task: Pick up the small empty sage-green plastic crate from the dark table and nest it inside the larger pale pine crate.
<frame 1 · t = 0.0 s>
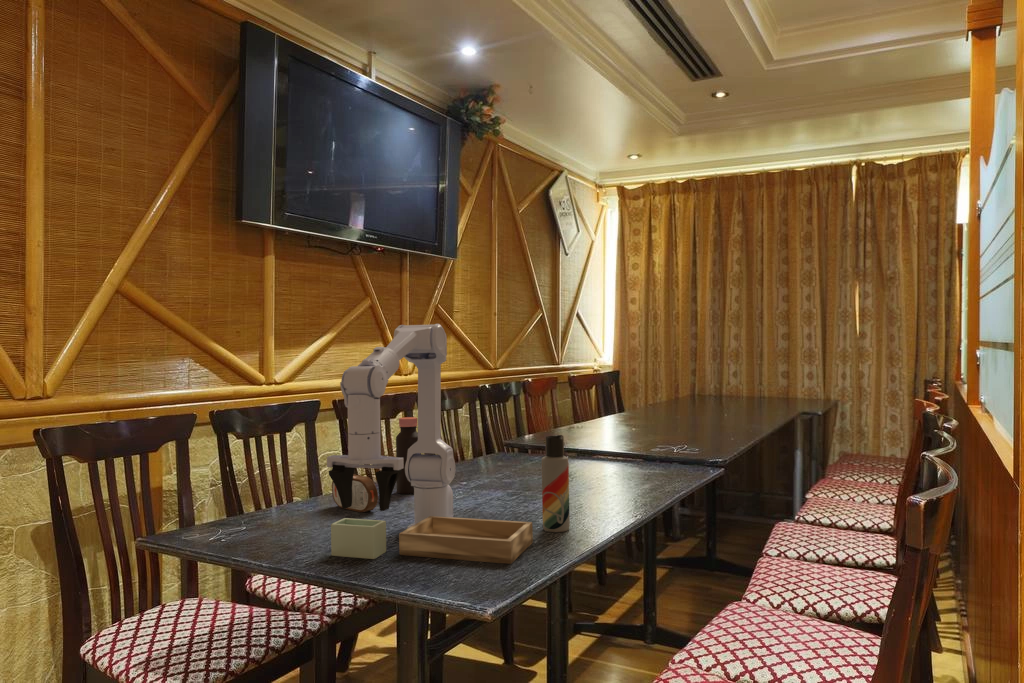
hand: (365, 508, 125), 10 cm above the table, tool pointing down, fingers open, 7 cm apart
small crate: (359, 554, 132), on the table
lotion bottle: (556, 530, 147), on the table
vinegar: (409, 492, 188), on the table
pine crate: (467, 548, 134), on the table
tin: (354, 510, 168), on the table
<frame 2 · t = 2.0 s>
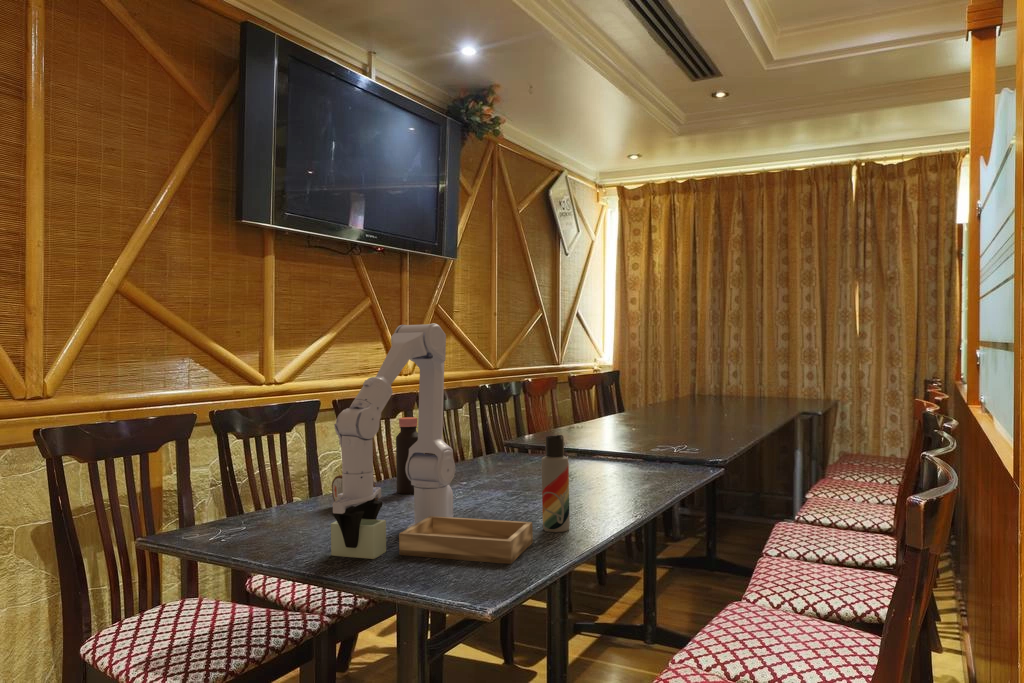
hand: (358, 543, 132), 2 cm above the table, tool pointing down, fingers closed on small crate, 5 cm apart
small crate: (358, 553, 132), on the table, touching gripper
everything else where it was.
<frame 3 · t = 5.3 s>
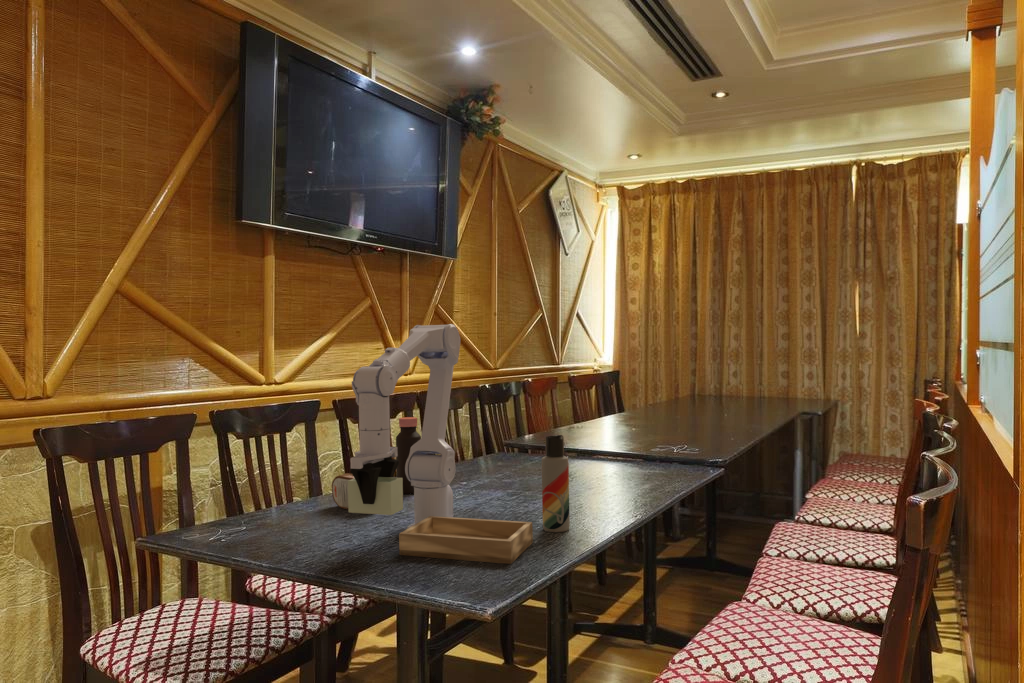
hand: (375, 500, 132), 10 cm above the table, tool pointing down, fingers closed on small crate, 5 cm apart
small crate: (375, 510, 132), point 8 cm above the table, touching gripper
everything else where it was.
when the fingers open (4 cm above the table, at t = 8.6 s): small crate drops 1 cm, resting on pine crate.
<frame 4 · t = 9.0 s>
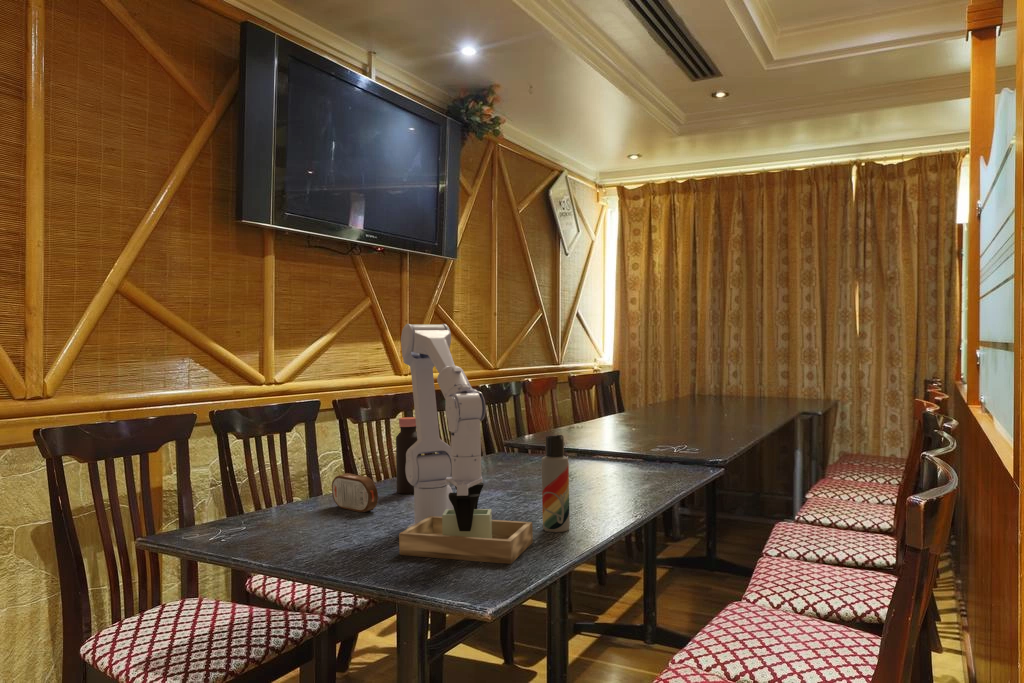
hand: (467, 525, 134), 4 cm above the table, tool pointing down, fingers open, 7 cm apart
small crate: (467, 543, 134), point 1 cm above the table, touching pine crate
everything else where it was.
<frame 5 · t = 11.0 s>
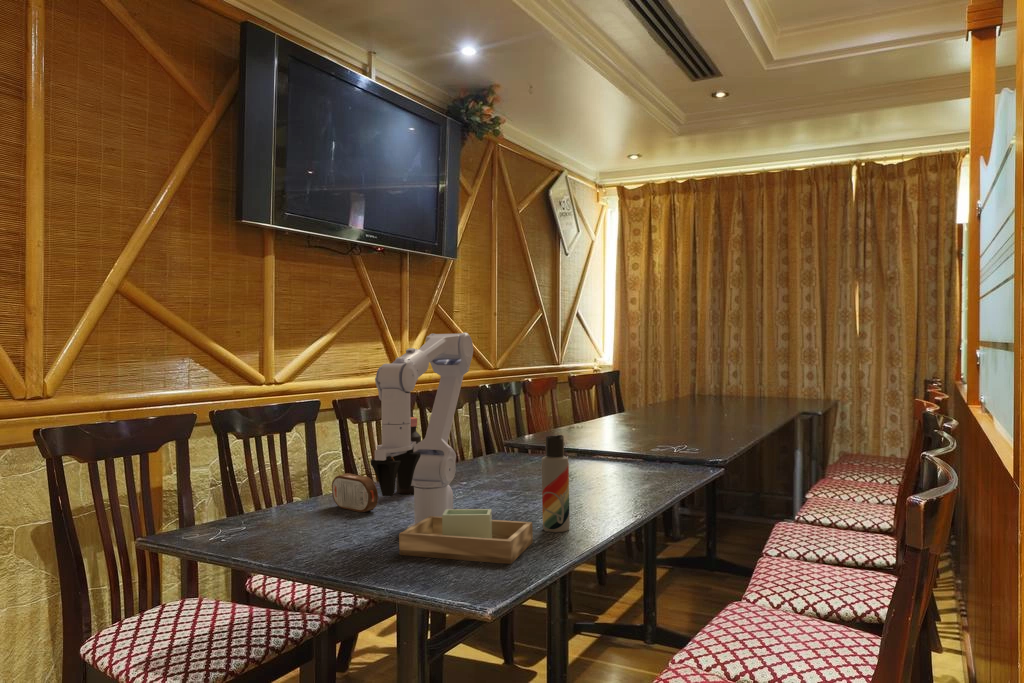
hand: (396, 492, 138), 10 cm above the table, tool pointing down, fingers open, 7 cm apart
nothing on the table moved.
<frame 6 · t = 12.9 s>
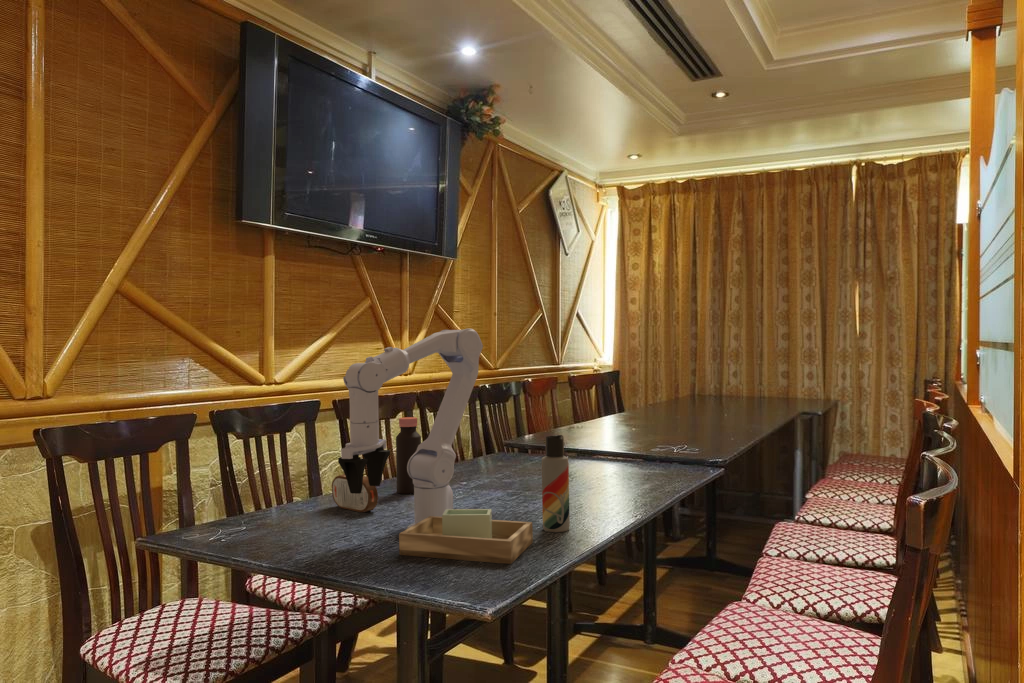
hand: (365, 489, 140), 10 cm above the table, tool pointing down, fingers open, 7 cm apart
nothing on the table moved.
at the end: small crate inside the target area on the pine crate (0.0 cm from its centre), point 1.0 cm above the pine crate's base; the gripper is holding nothing; small crate tilted 0° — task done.
